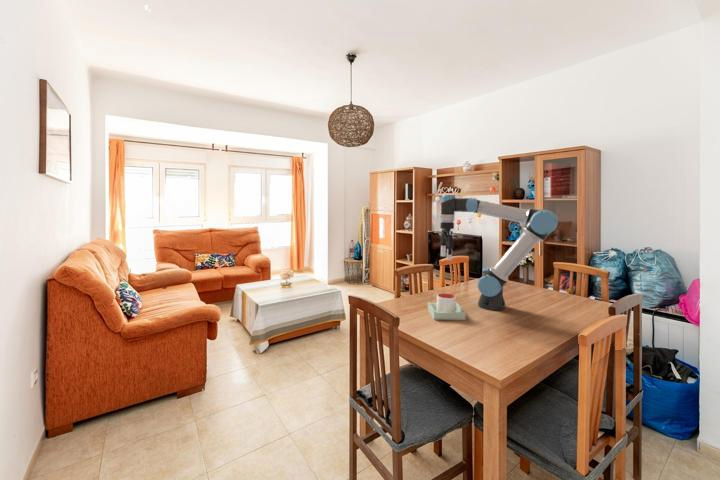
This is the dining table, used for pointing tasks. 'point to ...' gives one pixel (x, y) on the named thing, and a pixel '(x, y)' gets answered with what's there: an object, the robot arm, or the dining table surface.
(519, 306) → the dining table surface
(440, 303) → the cup
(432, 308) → the pale green square tray
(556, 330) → the dining table surface
